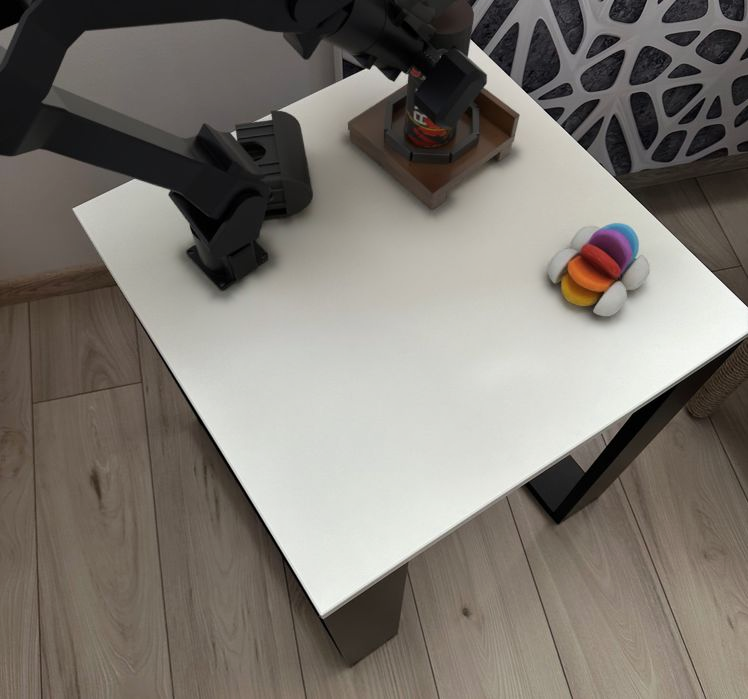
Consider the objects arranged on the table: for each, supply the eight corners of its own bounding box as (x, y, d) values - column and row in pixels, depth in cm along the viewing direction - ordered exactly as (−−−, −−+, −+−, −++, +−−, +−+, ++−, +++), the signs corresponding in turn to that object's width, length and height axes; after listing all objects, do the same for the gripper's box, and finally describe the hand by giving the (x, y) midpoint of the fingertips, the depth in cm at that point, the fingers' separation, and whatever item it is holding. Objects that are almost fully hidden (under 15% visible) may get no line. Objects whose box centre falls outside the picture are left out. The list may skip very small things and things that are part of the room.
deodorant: (460, 114, 88) (478, -1, 75) (451, 152, 85) (468, 38, 72) (410, 105, 89) (419, -11, 76) (399, 142, 86) (406, 28, 73)
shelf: (348, 140, 90) (347, 101, 85) (428, 88, 94) (431, 48, 89) (430, 211, 85) (434, 175, 80) (511, 152, 90) (520, 114, 84)
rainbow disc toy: (533, 285, 81) (547, 244, 74) (587, 231, 84) (605, 187, 78) (599, 333, 78) (620, 295, 72) (652, 275, 81) (676, 233, 75)
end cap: (315, 217, 85) (311, 175, 79) (251, 226, 84) (242, 185, 78) (303, 149, 90) (298, 105, 84) (242, 157, 89) (233, 114, 83)
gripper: (485, -3, 61) (558, 55, 74) (351, -117, 68) (439, -46, 81) (401, 112, 66) (483, 148, 79) (284, -6, 73) (377, 45, 86)
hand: (446, 70), depth 81 cm, fingers closed on deodorant, 6 cm apart
